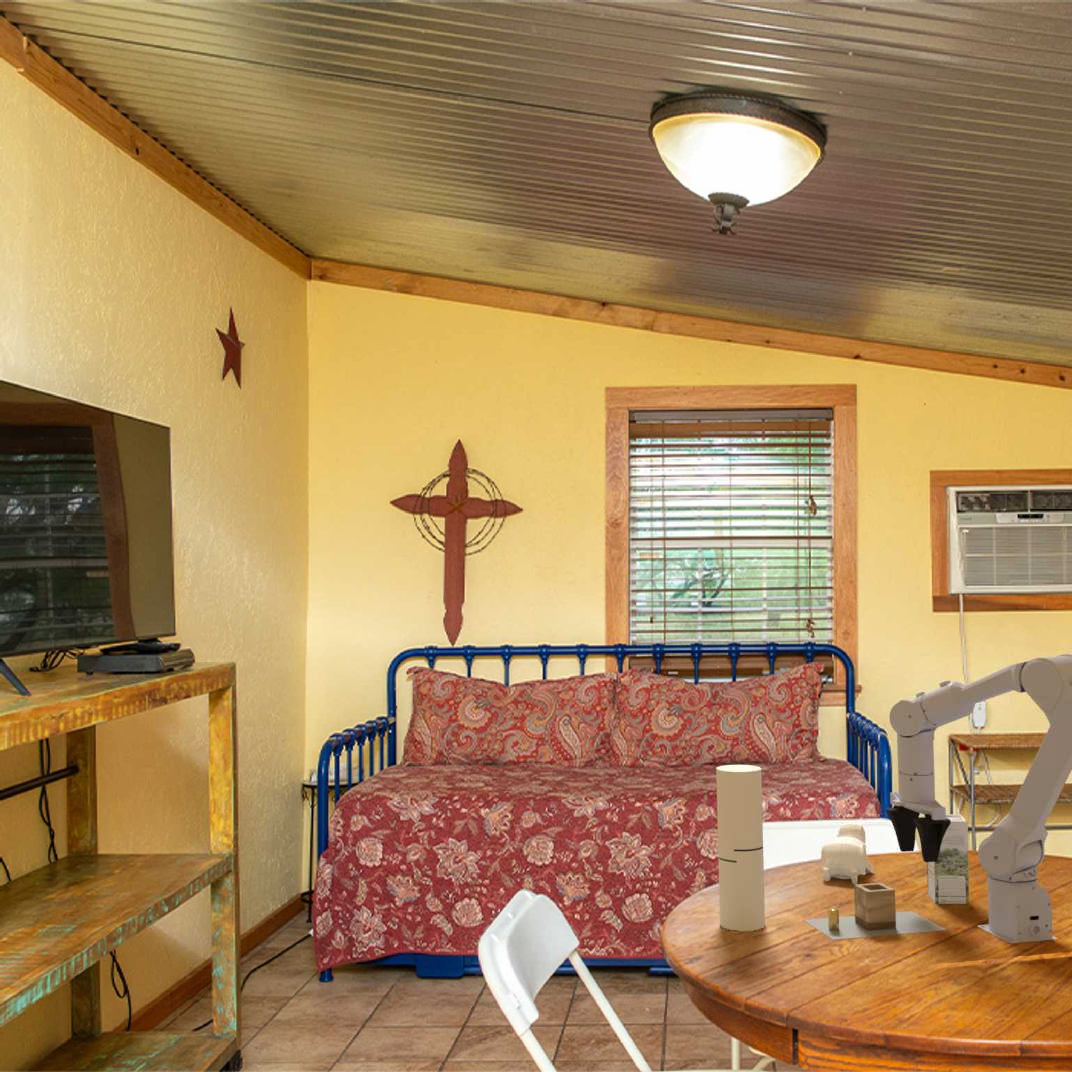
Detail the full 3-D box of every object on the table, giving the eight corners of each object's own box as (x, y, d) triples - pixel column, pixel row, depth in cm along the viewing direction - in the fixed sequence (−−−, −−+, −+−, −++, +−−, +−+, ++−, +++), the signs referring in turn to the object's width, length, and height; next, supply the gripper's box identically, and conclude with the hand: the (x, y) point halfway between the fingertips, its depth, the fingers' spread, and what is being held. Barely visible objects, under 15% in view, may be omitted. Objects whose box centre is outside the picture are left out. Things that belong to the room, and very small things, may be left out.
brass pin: (841, 934, 191) (840, 910, 192) (831, 934, 191) (830, 911, 191) (836, 931, 193) (835, 908, 193) (827, 932, 193) (826, 908, 193)
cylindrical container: (764, 932, 193) (760, 772, 194) (718, 930, 195) (715, 771, 195) (765, 919, 200) (761, 765, 201) (721, 917, 202) (717, 764, 202)
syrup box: (961, 898, 211) (959, 812, 211) (970, 907, 205) (967, 819, 205) (927, 897, 211) (924, 812, 212) (935, 907, 205) (932, 819, 206)
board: (947, 933, 190) (947, 929, 190) (833, 943, 187) (833, 939, 187) (911, 914, 201) (911, 911, 201) (803, 923, 197) (803, 919, 197)
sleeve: (896, 928, 192) (894, 889, 192) (868, 930, 191) (867, 891, 191) (882, 920, 196) (881, 882, 196) (855, 922, 195) (854, 884, 195)
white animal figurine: (866, 900, 222) (879, 852, 234) (862, 860, 219) (875, 814, 232) (819, 896, 225) (834, 849, 238) (814, 856, 223) (829, 811, 236)
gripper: (872, 767, 208) (875, 848, 208) (916, 781, 194) (918, 868, 194) (911, 765, 210) (913, 845, 210) (956, 778, 196) (959, 864, 195)
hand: (918, 856), depth 202 cm, fingers open, 7 cm apart
